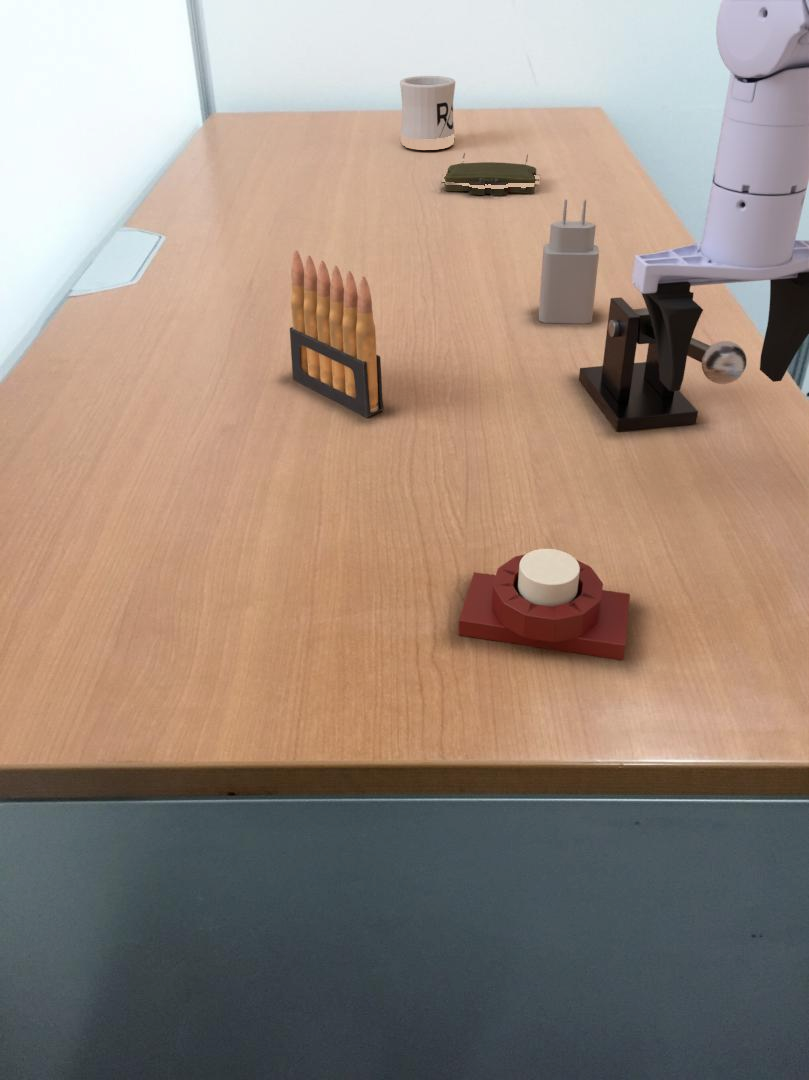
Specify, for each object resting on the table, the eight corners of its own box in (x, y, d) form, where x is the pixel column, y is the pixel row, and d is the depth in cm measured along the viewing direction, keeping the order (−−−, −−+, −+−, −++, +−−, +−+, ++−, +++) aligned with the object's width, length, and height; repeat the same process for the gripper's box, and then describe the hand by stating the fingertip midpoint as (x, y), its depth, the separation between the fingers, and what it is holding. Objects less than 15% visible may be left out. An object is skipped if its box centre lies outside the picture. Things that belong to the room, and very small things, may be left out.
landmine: (438, 175, 135) (450, 149, 147) (438, 194, 136) (450, 167, 148) (539, 178, 133) (543, 151, 145) (538, 197, 134) (542, 169, 146)
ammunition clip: (384, 411, 83) (380, 276, 76) (368, 418, 82) (362, 282, 75) (308, 372, 89) (297, 245, 82) (292, 378, 88) (280, 250, 81)
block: (628, 600, 61) (634, 563, 60) (622, 668, 56) (628, 630, 55) (475, 579, 63) (476, 542, 62) (455, 643, 58) (456, 605, 57)
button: (580, 575, 59) (582, 552, 58) (574, 611, 57) (576, 588, 56) (522, 567, 60) (524, 544, 59) (513, 602, 57) (515, 579, 56)
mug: (437, 155, 154) (438, 87, 148) (389, 148, 158) (388, 82, 152) (473, 139, 163) (475, 74, 157) (427, 133, 166) (427, 70, 161)
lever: (752, 386, 67) (756, 343, 65) (711, 390, 66) (715, 347, 65) (654, 338, 82) (656, 303, 81) (621, 341, 81) (622, 306, 80)
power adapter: (592, 323, 98) (605, 204, 91) (539, 322, 98) (547, 204, 91) (590, 312, 100) (602, 195, 93) (538, 311, 101) (546, 194, 94)
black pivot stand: (696, 424, 80) (714, 325, 75) (616, 432, 79) (629, 332, 74) (651, 373, 88) (665, 280, 83) (578, 379, 87) (587, 286, 82)
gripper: (832, 160, 64) (787, 348, 72) (626, 173, 62) (603, 364, 70) (893, 189, 59) (837, 390, 66) (668, 204, 57) (639, 409, 64)
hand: (720, 380), depth 68 cm, fingers open, 7 cm apart
